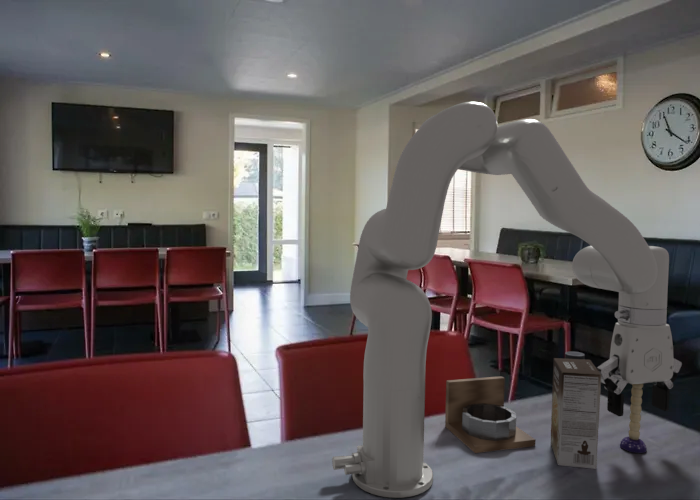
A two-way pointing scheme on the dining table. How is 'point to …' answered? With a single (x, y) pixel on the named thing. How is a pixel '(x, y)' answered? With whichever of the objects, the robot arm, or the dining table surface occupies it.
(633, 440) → the toy lamp
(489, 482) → the dining table surface
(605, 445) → the dining table surface
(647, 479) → the dining table surface
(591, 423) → the coffee box
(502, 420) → the grey faceted ring
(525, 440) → the bracket
